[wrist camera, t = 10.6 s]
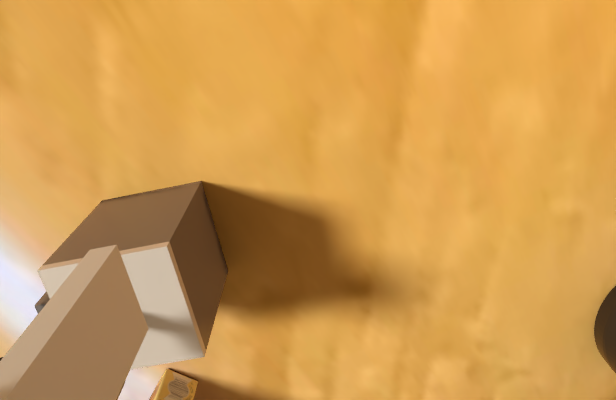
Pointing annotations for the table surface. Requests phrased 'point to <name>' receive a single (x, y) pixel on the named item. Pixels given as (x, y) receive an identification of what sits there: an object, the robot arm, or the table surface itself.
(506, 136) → the table surface
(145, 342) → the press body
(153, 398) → the candy box
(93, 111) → the table surface
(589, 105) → the table surface
